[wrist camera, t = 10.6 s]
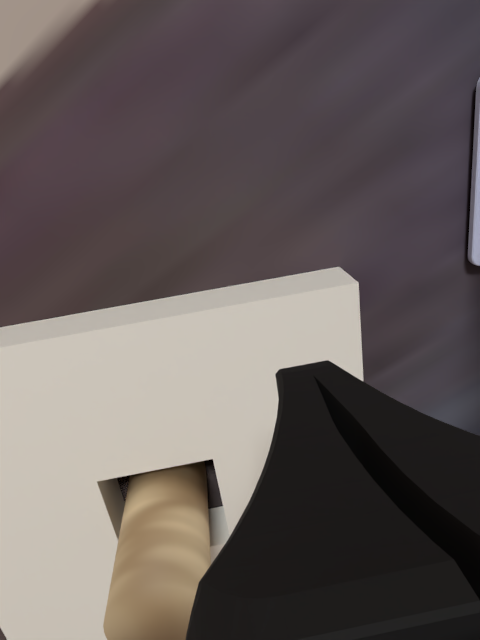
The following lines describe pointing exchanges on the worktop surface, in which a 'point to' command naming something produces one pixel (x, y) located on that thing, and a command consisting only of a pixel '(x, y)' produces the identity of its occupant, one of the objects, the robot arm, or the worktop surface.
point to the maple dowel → (159, 554)
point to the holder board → (142, 425)
